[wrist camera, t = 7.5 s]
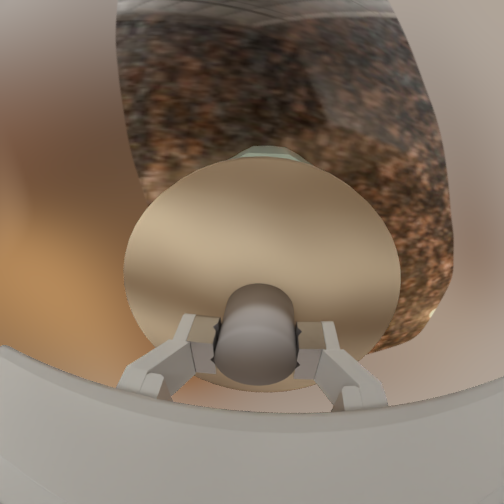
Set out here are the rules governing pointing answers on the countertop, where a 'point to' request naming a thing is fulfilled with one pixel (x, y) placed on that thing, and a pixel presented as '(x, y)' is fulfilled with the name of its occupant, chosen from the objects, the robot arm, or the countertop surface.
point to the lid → (262, 266)
